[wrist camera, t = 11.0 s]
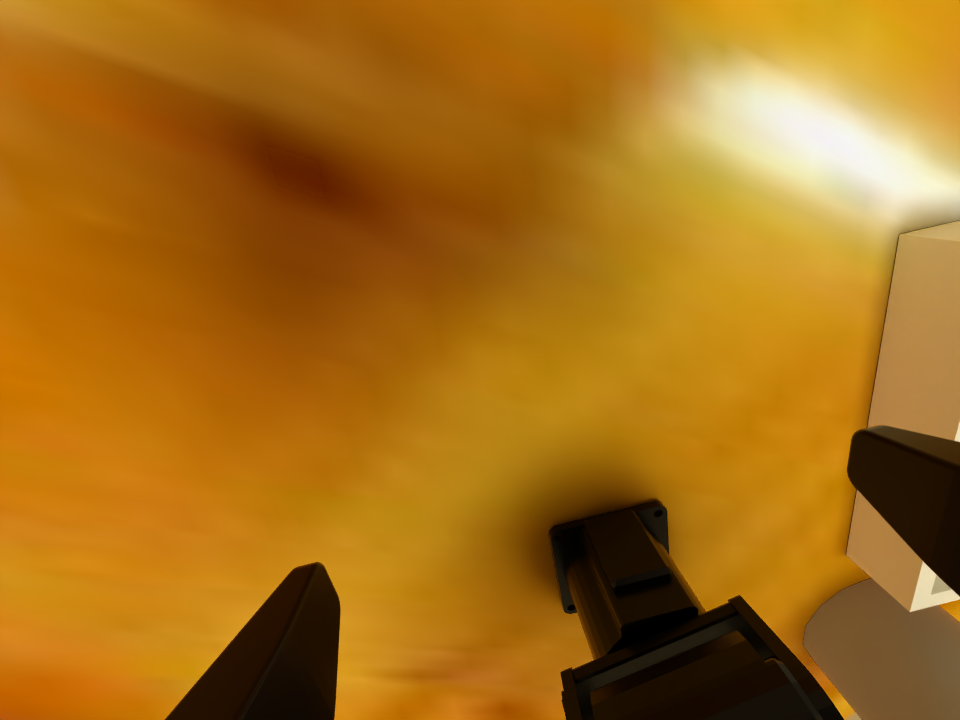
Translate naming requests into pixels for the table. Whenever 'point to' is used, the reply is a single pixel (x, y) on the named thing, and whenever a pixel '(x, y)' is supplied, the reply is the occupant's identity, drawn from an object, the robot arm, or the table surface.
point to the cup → (887, 655)
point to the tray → (914, 397)
